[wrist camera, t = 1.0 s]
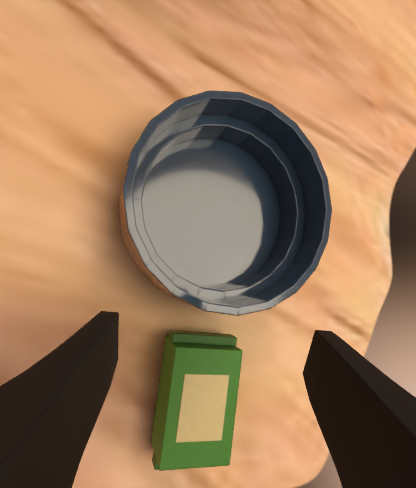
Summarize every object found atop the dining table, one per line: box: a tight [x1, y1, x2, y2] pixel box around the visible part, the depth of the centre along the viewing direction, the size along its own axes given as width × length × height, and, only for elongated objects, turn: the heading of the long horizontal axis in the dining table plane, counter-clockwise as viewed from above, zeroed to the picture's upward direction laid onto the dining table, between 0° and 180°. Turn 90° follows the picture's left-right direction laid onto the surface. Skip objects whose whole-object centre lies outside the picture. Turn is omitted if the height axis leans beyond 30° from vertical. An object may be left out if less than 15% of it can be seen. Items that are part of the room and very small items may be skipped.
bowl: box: [119, 91, 332, 315], centre depth 21 cm, size 14×14×5 cm
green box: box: [151, 330, 242, 471], centre depth 21 cm, size 8×5×3 cm, turn 172°
